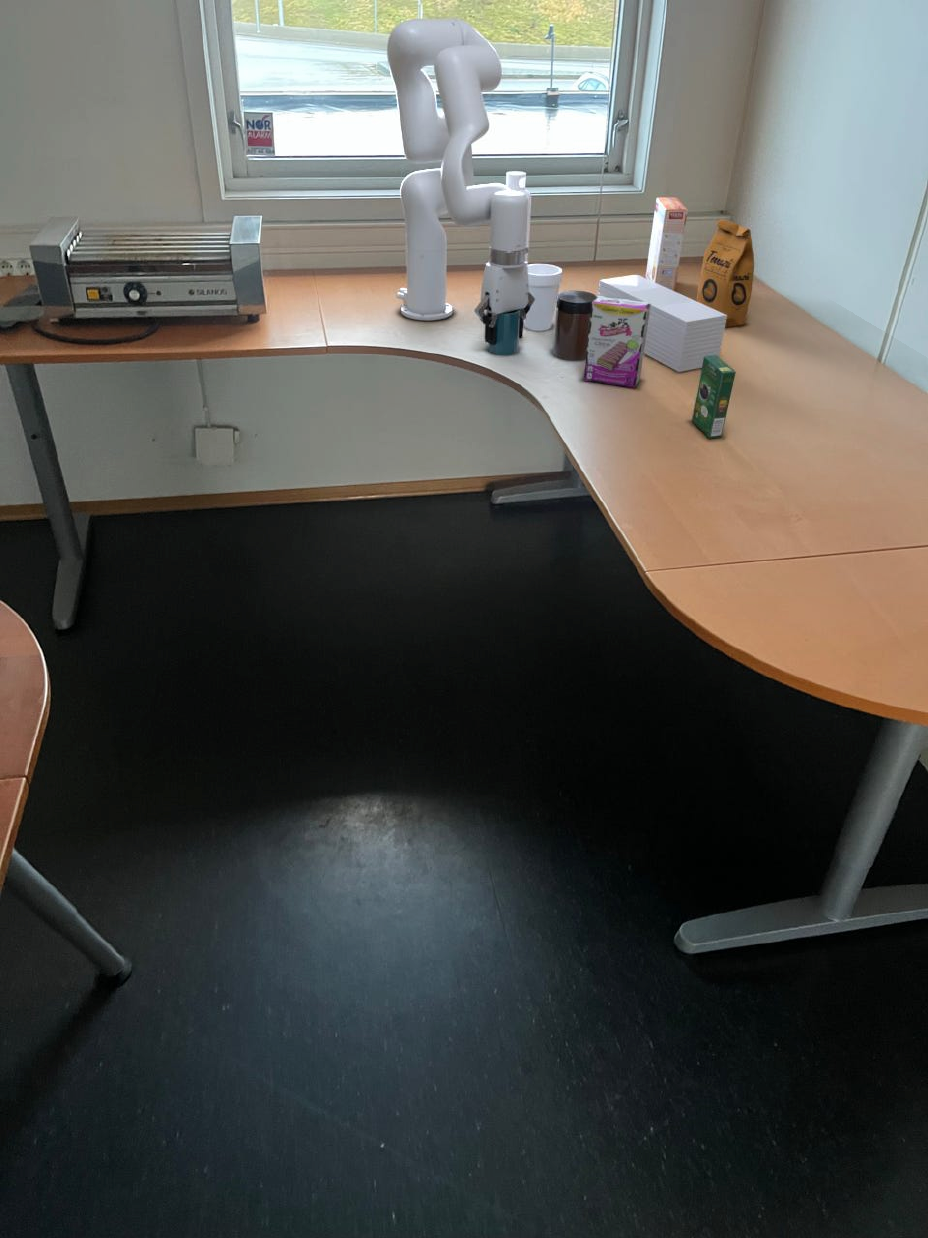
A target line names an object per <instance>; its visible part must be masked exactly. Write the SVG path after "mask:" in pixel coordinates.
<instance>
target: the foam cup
mask: <svg viewBox="0 0 928 1238" xmlns="http://www.w3.org/2000/svg"><path fill="white" fill-rule="evenodd" d="M527 269H528V286H529V289H528V292H529V293H530V294H531V295H532V296H533V297H534V298H535V301H534V303H533V304H532V306H531V307H530V310H529V312H528V313H527V314H526V319H525V320H523V325H524V327H525V328H526V329H528V330H531V331H536V332H537V331H539V332H541V331H542V332H543V331H548V330H550V329H551V328H552V324H553V319H554V316H555V312H556V303H557V295H558V294H559V290H560V287H561V286H560V285H561V283H562V278H563V269H562V268H561V267H560V266H557V265H553V264H548V263H531V264H528V265H527Z"/></svg>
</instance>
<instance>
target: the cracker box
mask: <svg viewBox="0 0 928 1238" xmlns="http://www.w3.org/2000/svg"><path fill="white" fill-rule="evenodd" d="M654 207H655V208H654V215H653V221H652V227H651V228H652V229H651V236H650V241H649V249H648V256H647V264H646V271H645V277H644V278H646V279H648V280H650V281H653V282H655V283H657V284H659V285H661V286H664V287H666V288H668V289H670V290H672V291H675V292H676V285H677V278H678V272H679V266H680V260H681V255H682V247H683V240H684V235H685V229H686V224H687V217H688V209H687V207H686V206H685V205H684V204H683V203H682V202H681V200H680V199H679V198H678V197H668V196H667V197H663V196H662V197H656V199H655V206H654Z"/></svg>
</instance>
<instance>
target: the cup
mask: <svg viewBox="0 0 928 1238" xmlns="http://www.w3.org/2000/svg"><path fill="white" fill-rule="evenodd" d="M492 315H493V314H491V317H492ZM491 317H490V320H491ZM495 327H496V328H497V335H496V345H491V344H489V343H487V347H488V351H489V352H490V353H492V354H494V355H498V356H509V355H514V354H516V353H517V352H519V346H520V345H519V344H520V339H519V328H520V309H518V310H515V311H511V312H507V313H501V314H498V318H497V320H496V323H495Z"/></svg>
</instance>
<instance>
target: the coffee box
mask: <svg viewBox="0 0 928 1238" xmlns="http://www.w3.org/2000/svg"><path fill="white" fill-rule="evenodd" d="M736 373H737V371H736V370H735V369H734V368H732V367H731V366H730V365H729V364H728V363H726V362H725V361H724V360H723V359H722V358H721V357H720V356H719V357H718V356H717V355H707V356H704V359H703V364H702V368H701V372H700V375H699V382H698V387H697V392H696V397H695V402H694V408H693V412H692V418H691V421H692V423H693V424H694V425H695V426H696V427H697V428H698V429H699V430H700V431H701V432H702V433H703V434H704V435H705V436H706V437H707V438H708V439H709V440H710V439H721V438H722V436H723V432H724V427H725V422H726V418H727V414H728V409H729V404H730V400H731V395H732V392H733V387H734V384H735V383H734V382H735V378H736Z"/></svg>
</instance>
